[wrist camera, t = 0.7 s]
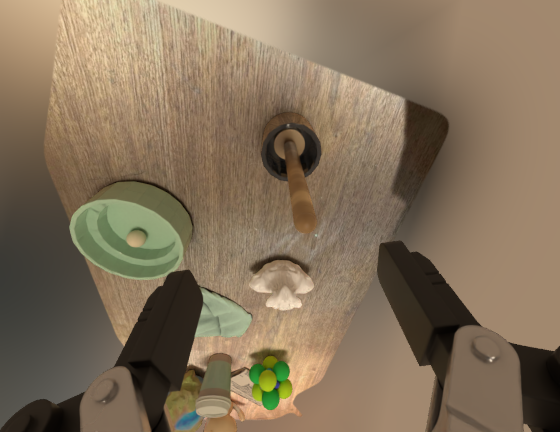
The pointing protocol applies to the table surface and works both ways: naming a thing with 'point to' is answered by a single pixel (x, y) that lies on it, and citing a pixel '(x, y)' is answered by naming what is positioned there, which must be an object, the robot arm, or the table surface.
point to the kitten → (224, 421)
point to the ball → (136, 238)
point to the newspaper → (243, 385)
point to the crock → (308, 156)
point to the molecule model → (270, 382)
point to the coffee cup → (215, 388)
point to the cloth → (221, 317)
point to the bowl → (128, 217)
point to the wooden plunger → (296, 178)
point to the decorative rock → (185, 404)
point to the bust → (282, 284)
